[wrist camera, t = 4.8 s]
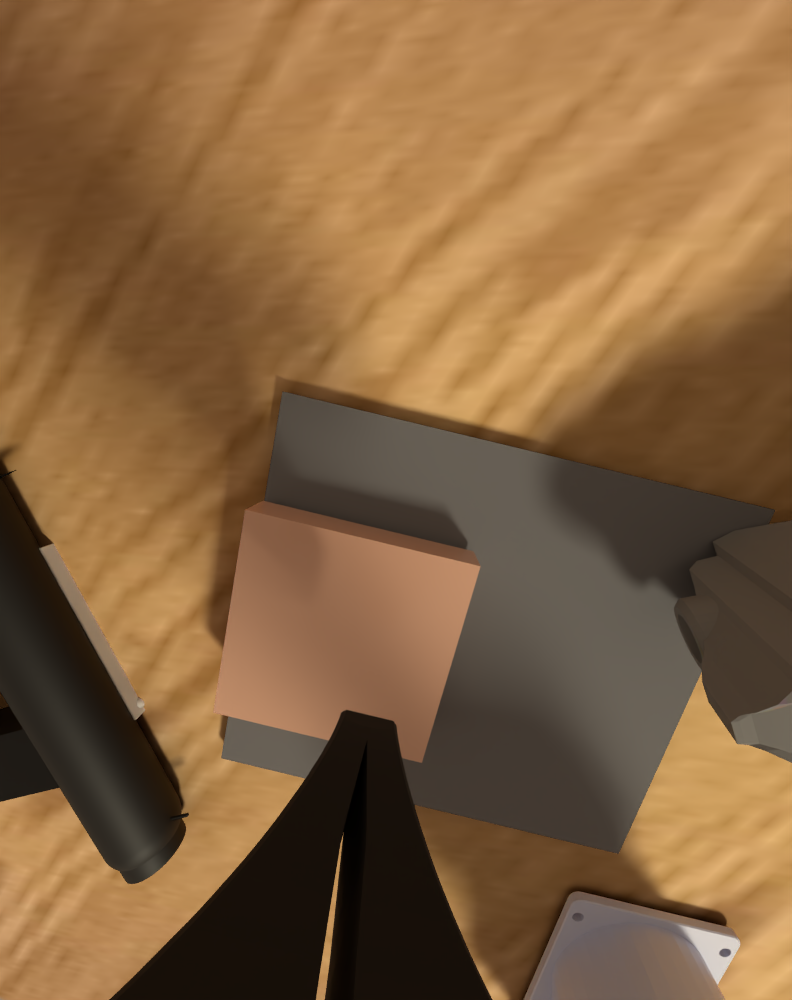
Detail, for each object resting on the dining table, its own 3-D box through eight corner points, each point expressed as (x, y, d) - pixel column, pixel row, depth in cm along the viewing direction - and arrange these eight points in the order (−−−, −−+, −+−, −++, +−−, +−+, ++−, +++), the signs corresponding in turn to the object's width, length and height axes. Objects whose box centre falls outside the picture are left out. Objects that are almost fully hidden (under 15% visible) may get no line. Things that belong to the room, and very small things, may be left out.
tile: (421, 762, 14) (213, 712, 14) (420, 725, 16) (235, 680, 16) (480, 566, 13) (245, 509, 13) (472, 548, 14) (265, 498, 14)
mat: (611, 839, 17) (618, 854, 17) (227, 746, 17) (221, 758, 17) (760, 506, 14) (775, 510, 14) (288, 392, 14) (282, 391, 14)
